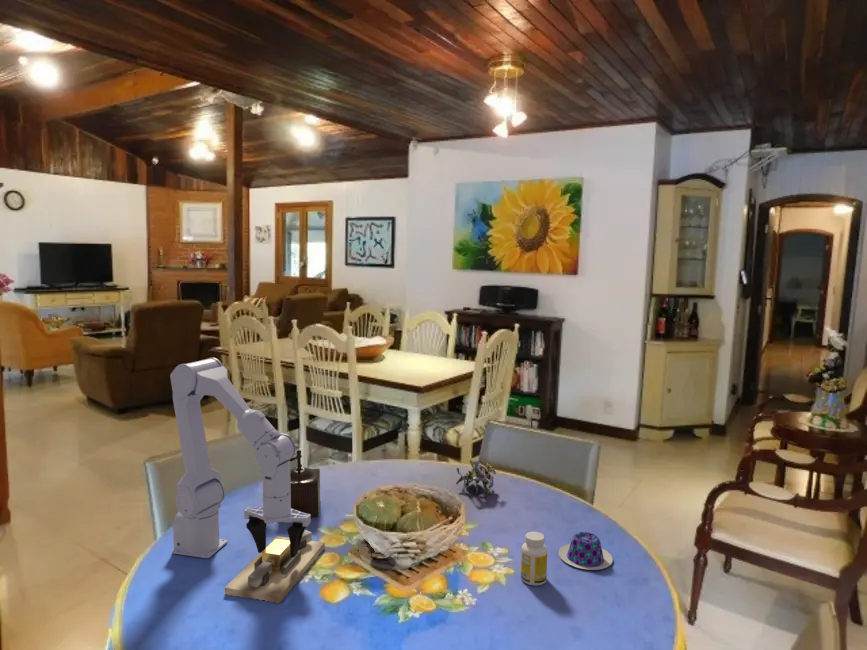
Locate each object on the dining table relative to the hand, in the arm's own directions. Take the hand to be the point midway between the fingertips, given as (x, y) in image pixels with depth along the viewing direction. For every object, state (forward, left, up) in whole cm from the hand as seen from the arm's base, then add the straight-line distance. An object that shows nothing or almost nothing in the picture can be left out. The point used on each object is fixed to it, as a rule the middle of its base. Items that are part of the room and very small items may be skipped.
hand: (278, 552), depth 127 cm
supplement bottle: (+54, +10, -4) cm, 55 cm away
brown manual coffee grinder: (-11, +28, -4) cm, 30 cm away
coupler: (0, 0, -2) cm, 2 cm away
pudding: (+65, +22, -4) cm, 69 cm away
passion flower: (+35, +52, -4) cm, 63 cm away
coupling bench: (0, 0, -4) cm, 4 cm away
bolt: (+17, +16, -4) cm, 24 cm away
